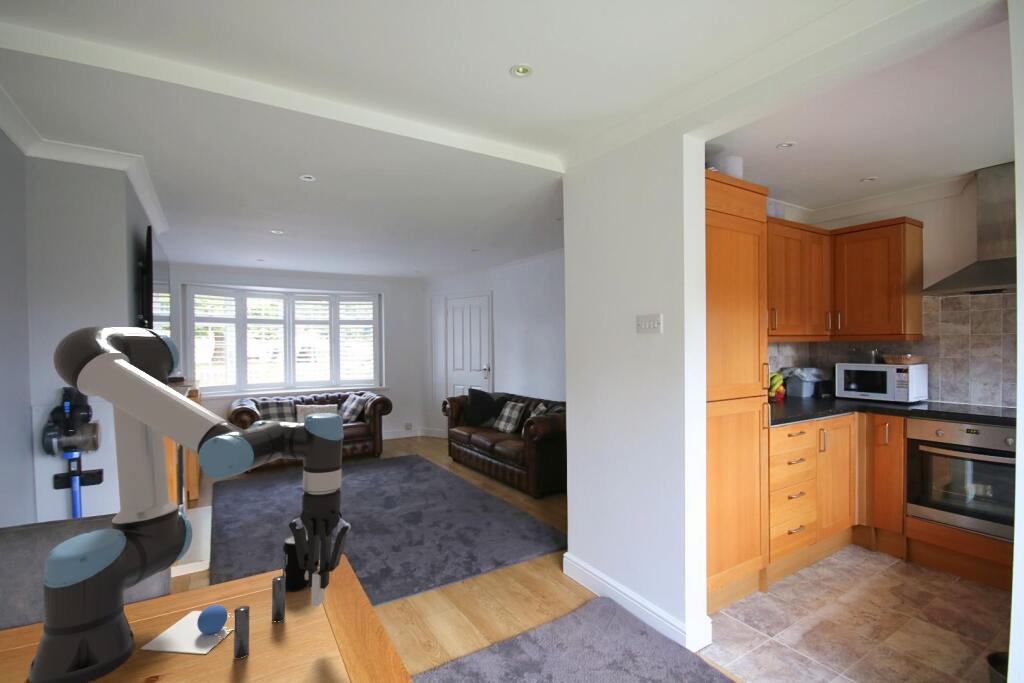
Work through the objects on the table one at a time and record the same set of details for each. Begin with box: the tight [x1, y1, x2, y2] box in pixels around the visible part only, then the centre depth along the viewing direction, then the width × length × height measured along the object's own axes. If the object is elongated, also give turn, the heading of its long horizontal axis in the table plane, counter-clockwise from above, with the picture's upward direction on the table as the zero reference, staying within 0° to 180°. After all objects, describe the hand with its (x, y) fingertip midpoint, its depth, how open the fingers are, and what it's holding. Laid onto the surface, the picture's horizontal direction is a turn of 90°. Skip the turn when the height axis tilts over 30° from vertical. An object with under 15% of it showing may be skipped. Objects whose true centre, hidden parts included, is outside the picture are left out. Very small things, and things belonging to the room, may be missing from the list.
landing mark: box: [140, 610, 234, 655], centre depth 104 cm, size 14×14×1 cm
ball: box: [197, 604, 228, 634], centre depth 104 cm, size 6×6×6 cm
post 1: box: [233, 605, 250, 659], centre depth 96 cm, size 3×3×9 cm
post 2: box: [271, 575, 286, 623], centre depth 109 cm, size 3×3×9 cm
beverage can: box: [282, 534, 309, 592], centre depth 124 cm, size 7×7×12 cm
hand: (317, 602), depth 101 cm, fingers closed
